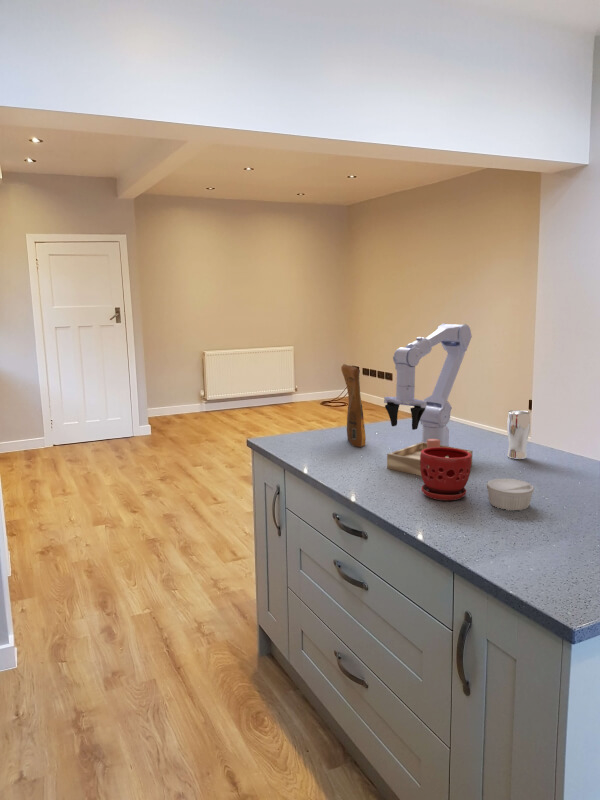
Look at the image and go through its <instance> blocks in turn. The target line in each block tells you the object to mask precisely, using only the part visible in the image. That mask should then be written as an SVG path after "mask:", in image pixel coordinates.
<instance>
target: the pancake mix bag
mask: <svg viewBox="0 0 600 800" xmlns="http://www.w3.org/2000/svg"><path fill="white" fill-rule="evenodd" d="M341 373H342V376H343V378H344V382H345V385H346V389H347V396H348V405H347V412H346V413H347V414H346V415H347V416H346V437H347V440H348V441H350V442H349V443H350V444H351V445H353V446H352V447H355V446H357V447H356V448H362V447H364V446H366V441H367V440H366V438H367V436H366V428H365V418H364V411H363V403H362V398H361V385H360V384H361V383H360V382H361V381H360V375H361V374H360V373H361V372H360V369H359V368H358V367H357V366H354V365H347V364H345V363H343V364H342V365H341Z"/></svg>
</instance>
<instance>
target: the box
mask: <svg viewBox="0 0 600 800" xmlns="http://www.w3.org/2000/svg"><path fill="white" fill-rule="evenodd" d="M440 447H447V448H455V449H461V450H464V451H467V452H469V453H471V455H472V456H473V450H470V449H465V448H459V447H455V446H454V447H453V446H449V447H448V446H442V445H440ZM426 448H427V443H425V442H422V441H421V442H417V443H415V444H412V445H409V446H407V447H406V446H405V447H404V448H401V449H397V450H395V451H392V452H390V453H387V454H386V469H388V470H394V471H398V472H402V473H407V474H412V475H415V474H416V476H420V477H422V476H421V470H420V454H421V451H422V450H423V449H426ZM445 458H449V456H446V457H445ZM472 465H473V459H472V460H471V466H472ZM428 468H429V465H428Z"/></svg>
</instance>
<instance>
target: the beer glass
mask: <svg viewBox="0 0 600 800" xmlns="http://www.w3.org/2000/svg"><path fill="white" fill-rule="evenodd" d="M507 414H508V415H507V422H506V430H507V431H506V432H507V439H508V451H507V455H506V457H507V456H508V457H510V458H518V459H522V458H526V457H527V458H528V455H527V454H528V453H527V445H528V441H529V440H528V439H529V435H530V431H531V412H530V411H527V410H520V409H513V410H511V409H510V410H508V413H507ZM508 457H507V458H508ZM510 458H509V459H510Z"/></svg>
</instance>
